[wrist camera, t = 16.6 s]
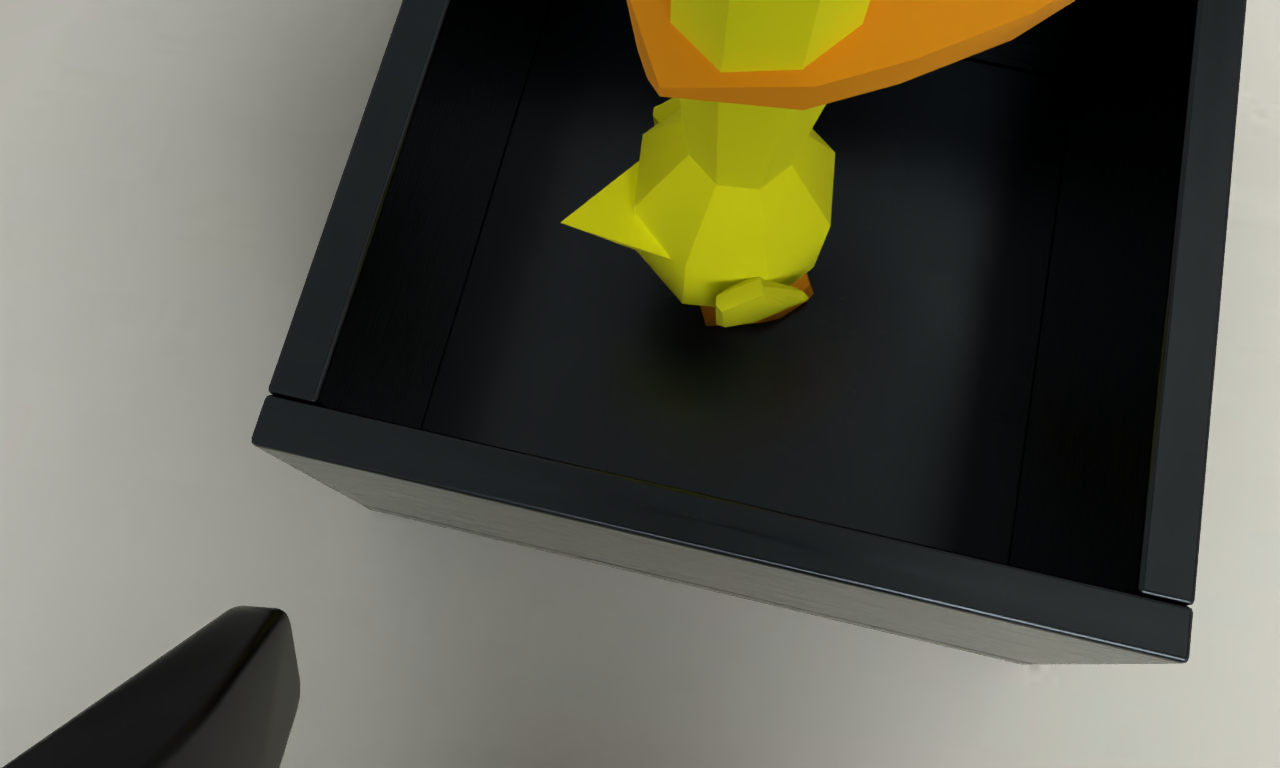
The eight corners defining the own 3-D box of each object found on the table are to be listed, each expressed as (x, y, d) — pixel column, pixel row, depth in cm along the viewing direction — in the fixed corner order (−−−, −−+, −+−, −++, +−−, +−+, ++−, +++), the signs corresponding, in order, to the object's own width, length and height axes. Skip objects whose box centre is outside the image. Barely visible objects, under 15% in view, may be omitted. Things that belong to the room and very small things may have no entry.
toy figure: (894, 147, 19) (1251, -618, 8) (961, 315, 18) (1480, -275, 7) (556, 239, 19) (407, -428, 7) (608, 416, 18) (529, -33, 6)
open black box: (1024, 665, 17) (1191, 664, 12) (367, 508, 18) (247, 443, 13) (1100, 73, 20) (1260, -139, 15) (535, -36, 21) (495, -273, 16)
